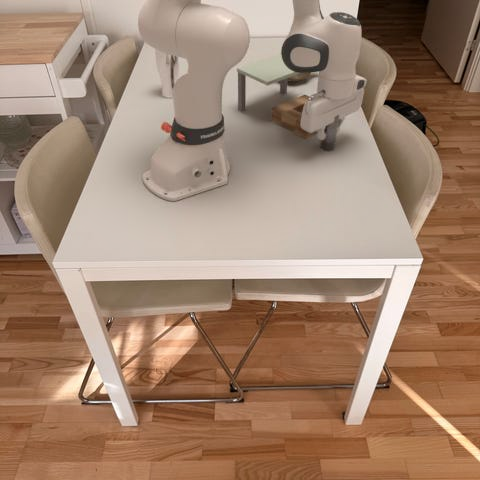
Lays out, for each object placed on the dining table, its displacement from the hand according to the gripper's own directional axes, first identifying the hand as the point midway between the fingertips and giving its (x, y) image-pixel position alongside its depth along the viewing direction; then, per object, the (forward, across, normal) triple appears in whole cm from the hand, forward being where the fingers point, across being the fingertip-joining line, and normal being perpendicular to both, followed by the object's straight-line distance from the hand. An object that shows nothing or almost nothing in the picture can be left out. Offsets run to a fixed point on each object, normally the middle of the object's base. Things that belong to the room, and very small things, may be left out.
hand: (328, 135), depth 122 cm
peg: (+4, 0, 0) cm, 4 cm away
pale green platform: (+4, +6, +27) cm, 27 cm away
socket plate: (+4, +6, +14) cm, 16 cm away
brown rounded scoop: (+4, +27, +37) cm, 46 cm away
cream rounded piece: (+4, -13, +56) cm, 58 cm away
